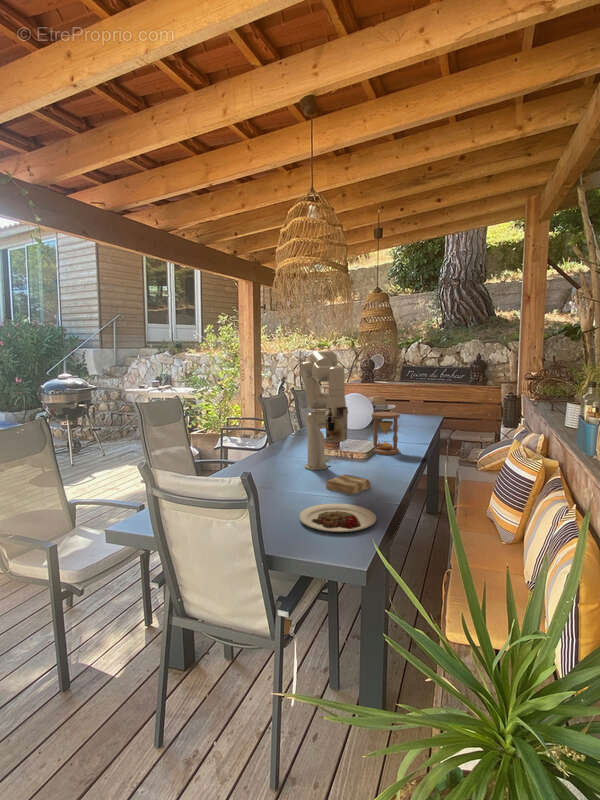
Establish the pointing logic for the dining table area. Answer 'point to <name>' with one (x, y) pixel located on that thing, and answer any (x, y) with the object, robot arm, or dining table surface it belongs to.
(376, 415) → the hourglass
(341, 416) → the coffee box
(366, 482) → the sliced bread
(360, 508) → the plated food
